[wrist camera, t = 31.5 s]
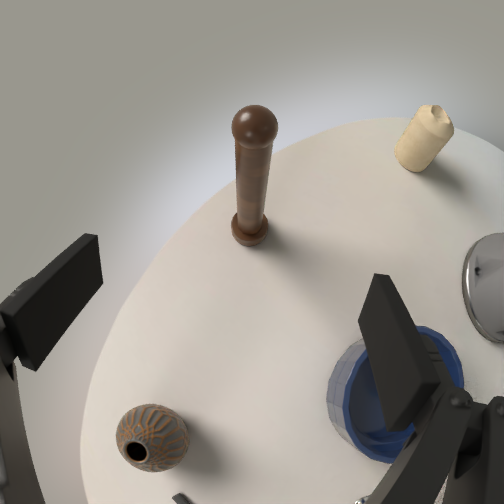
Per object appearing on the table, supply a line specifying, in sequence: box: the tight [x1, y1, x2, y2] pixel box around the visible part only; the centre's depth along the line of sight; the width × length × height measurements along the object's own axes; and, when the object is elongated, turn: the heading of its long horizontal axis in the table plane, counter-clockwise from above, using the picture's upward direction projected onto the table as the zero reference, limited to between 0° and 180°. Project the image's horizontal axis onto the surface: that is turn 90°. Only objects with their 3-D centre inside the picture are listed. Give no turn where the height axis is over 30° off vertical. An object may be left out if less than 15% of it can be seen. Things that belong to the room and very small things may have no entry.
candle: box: [395, 105, 454, 172], centre depth 36 cm, size 6×6×10 cm
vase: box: [116, 404, 189, 472], centre depth 25 cm, size 7×7×9 cm
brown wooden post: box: [231, 105, 278, 246], centre depth 27 cm, size 4×4×19 cm
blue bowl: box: [326, 326, 464, 464], centre depth 28 cm, size 14×14×6 cm
